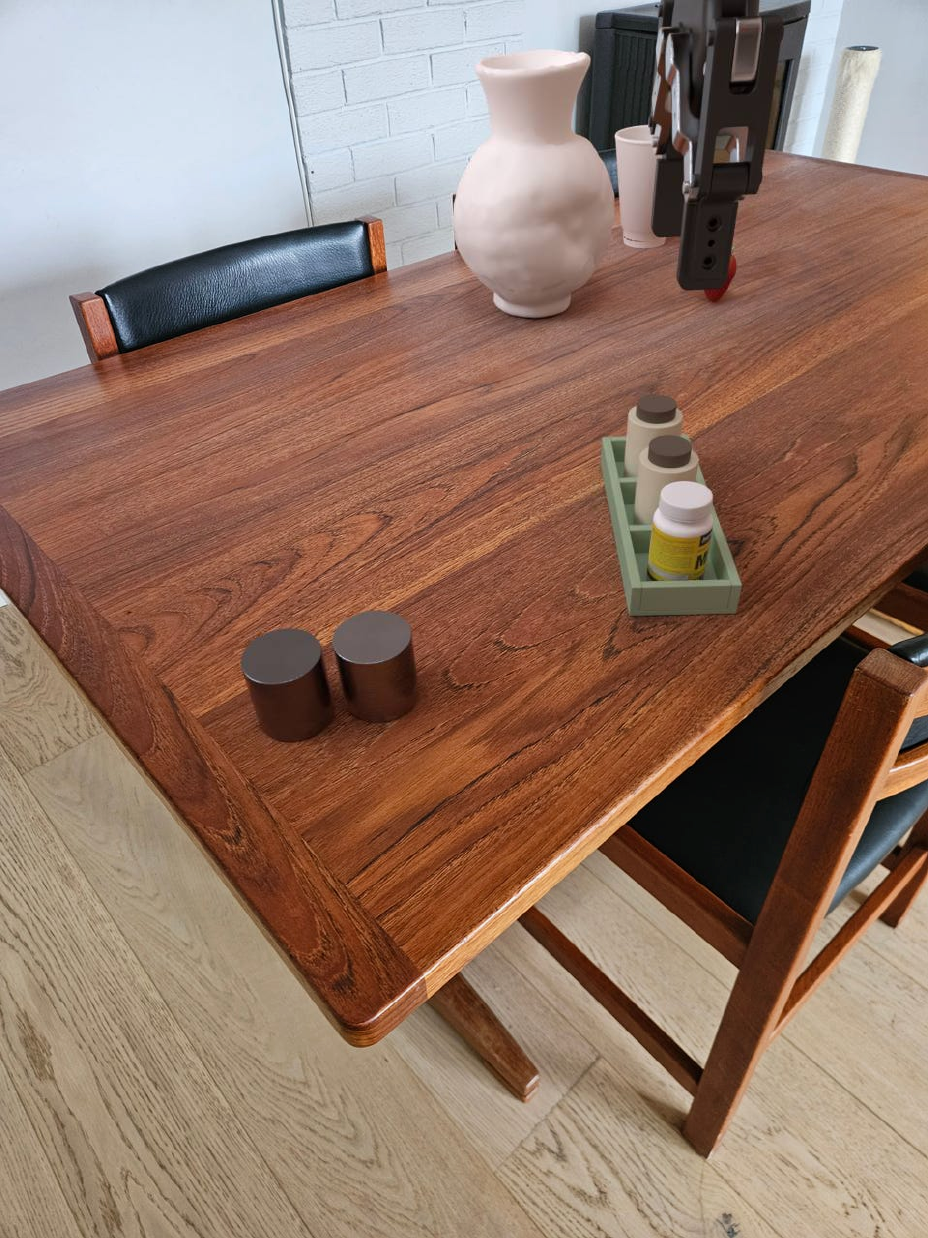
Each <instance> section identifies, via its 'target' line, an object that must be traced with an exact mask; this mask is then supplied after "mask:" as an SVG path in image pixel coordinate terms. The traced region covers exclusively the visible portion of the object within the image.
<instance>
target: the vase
mask: <svg viewBox="0 0 928 1238" xmlns="http://www.w3.org/2000/svg"><path fill="white" fill-rule="evenodd" d="M590 65H591V56H590V55H589V54H588V53H586V52H584V51H580V52H575V51H562V50H559V49H549V48H541V49H533V50H524V51H519V52H509V53H506V54H499V55H493V56H489V57H484V58H481V59H480V60H479V61H478V62H477V63H476V64H475V72H476V73H475V74H476V75H477V77H478V79H479V82H480V85H481V87H482V89H483V92H484V95H485V99H486V102H487V110H488V115H489V123H490V127H491V128H490V129H491V135H490V137H489V138H488V139H486V140H485V141H484V142H483V143H481V145H479V147H478V148H476V150H475V151H474V152H473V154H472V155H471V159H470V160H469V161H468V164H467V165H466V167H465V169H464V171H463V173H462V176H461V178H460V180H459V183H458V185H457V190H456V194H455V199H454V202H453V211H452V212H453V215H452V228H453V233H454V234H453V235H454V236H453V237H454V240H455V244H456V247H457V251H458V252H459V254H460V255H461V258H462V260H463V261H464V263H465V266H467V268H469V270H470V271H471V273H472V274H473V275H474V276H476V278H477V280H478V281H480V282H481V284H482V285H484V286H485V287H486V288H487V289H488V290H489V291H491V292H493V296H492V297H493V299H492V302H493V304H494V305H495V307H496V308H498V309H499V310H500V311H502V312H504V313H506V314H508V315H510V316H514V317H520V318H529V319H540V318H547V317H551V316H555V315H558V314H560V313H564V312H565V311H566V310H567V309H568V308H569V307H570V304H571V300H572V293H574V292H575V291H576V290H579V289H581V288H582V287H583V286H584V285H585V284H586V283H587V282H588V281H589V280H590V279H591V278H592V276H593V275H594V274H595V272H596V270H597V268H598V266H599V264H600V263H601V261H602V260H603V258H604V257H605V253H606V250H607V248H608V245H609V242H610V240H611V238H612V232H613V225H614V220H615V193H614V189H613V185H612V182H611V178H610V174H609V170H608V169H607V166H606V164H605V162H604V161H603V159H602V158H601V157H600V155H599V153H598V151H597V150H596V148H595V146H594V145H593V143H592V142H591V141H590V140H588V139H587V138H586V137H584V136H582V135H579V134H577V133H576V132H575V131H574V130H573V128H572V121H573V113H574V107H575V104H576V100H577V97H578V94H579V91H580V88H581V85H582V83H583V81H584V78H585V77H586V74H587V72H588V70H589V68H590Z"/></svg>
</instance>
